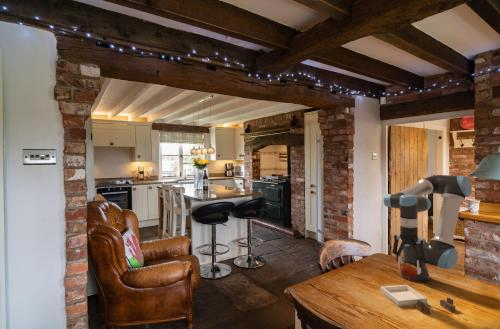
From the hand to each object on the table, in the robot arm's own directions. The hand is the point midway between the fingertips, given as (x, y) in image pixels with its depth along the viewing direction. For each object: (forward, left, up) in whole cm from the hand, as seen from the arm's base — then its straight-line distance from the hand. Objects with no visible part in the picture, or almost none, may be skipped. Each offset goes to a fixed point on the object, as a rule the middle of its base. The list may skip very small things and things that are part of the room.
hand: (409, 270), depth 141 cm
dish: (+2, -2, -15) cm, 15 cm away
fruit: (0, 0, -3) cm, 3 cm away
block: (-6, +10, -15) cm, 19 cm away
